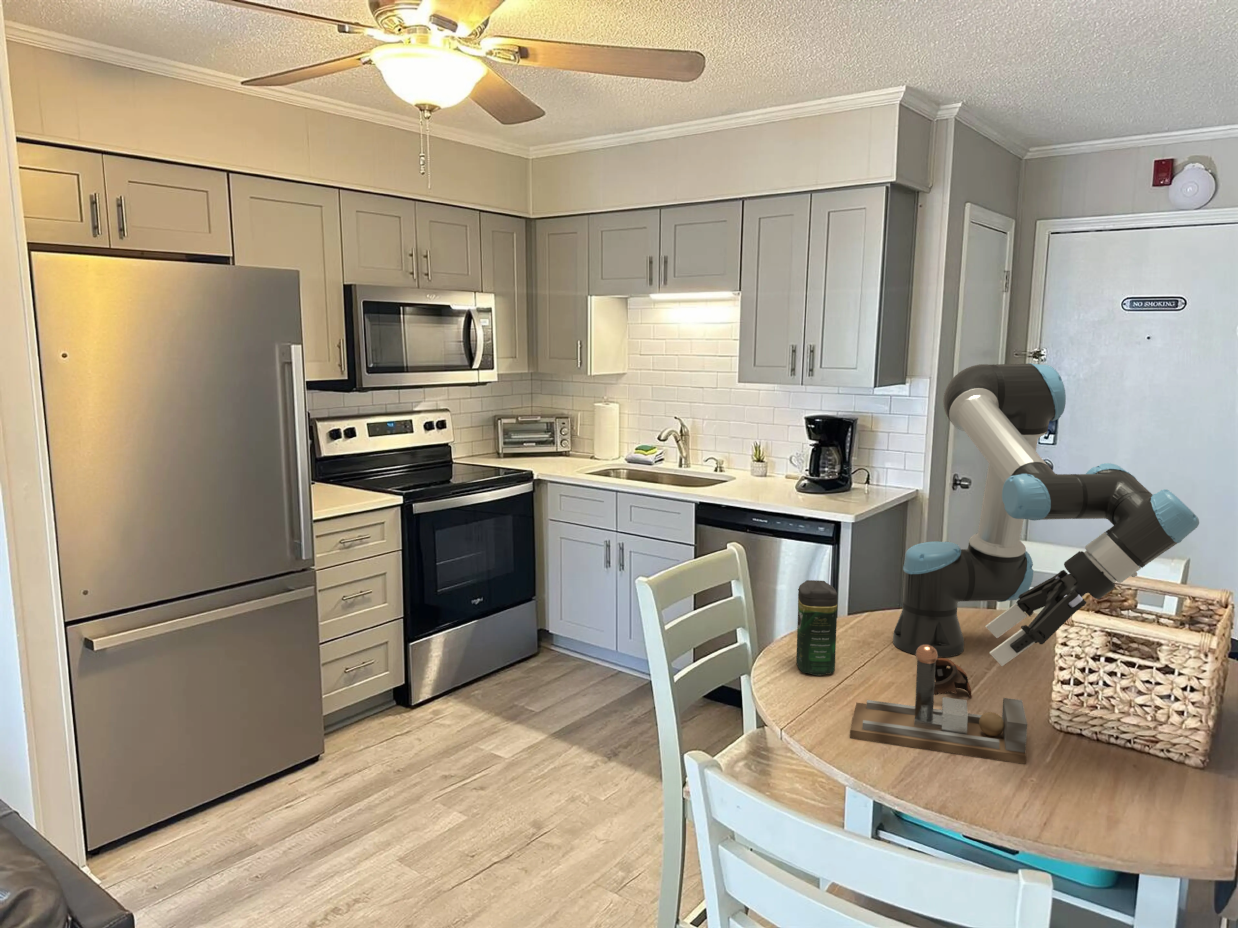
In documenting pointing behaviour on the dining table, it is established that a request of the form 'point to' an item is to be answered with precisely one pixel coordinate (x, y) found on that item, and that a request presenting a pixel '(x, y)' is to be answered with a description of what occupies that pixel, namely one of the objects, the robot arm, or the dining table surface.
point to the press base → (982, 739)
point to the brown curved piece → (949, 677)
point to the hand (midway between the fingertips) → (993, 645)
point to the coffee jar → (816, 627)
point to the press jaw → (952, 709)
